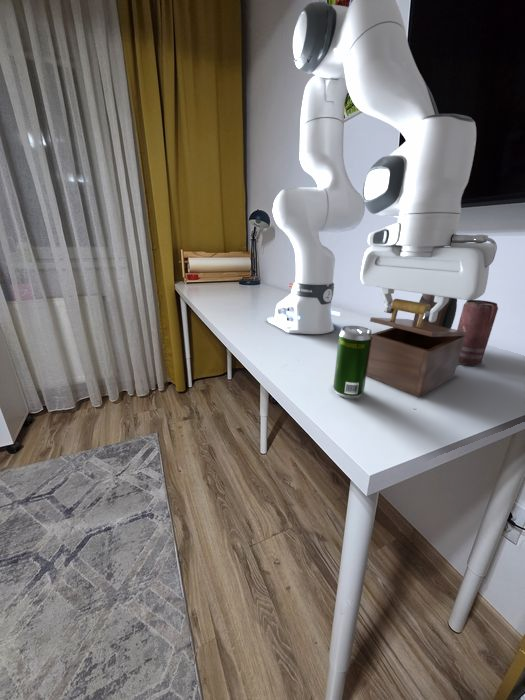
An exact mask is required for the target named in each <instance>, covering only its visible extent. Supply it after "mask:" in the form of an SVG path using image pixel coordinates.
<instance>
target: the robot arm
mask: <svg viewBox="0 0 525 700" xmlns="http://www.w3.org/2000/svg"><path fill="white" fill-rule="evenodd" d="M292 58H293V62H294V65H295V67H296V68H297V69H298V70H299V71H301V72H303V73H305V74H307V75H312V74H313V76H312V77H310V79H309V80H308V81H307V83H306V85H305V87H304V91H303V96H302V101H301V102H302V103H301V110H300V122H299V162H300V166H301V168H302V169H303V171H304V172H305V173H307V174H308V175H309V176H311V177H312V178H313V180H314V181H315V183H316V185H317V187H313V186H312V187H311V186H294V187H287V188H284V189H281V190H280V191H279V192H278V194H277V195H276V196H275V199H274V201H273V206H272V215H273V219H274V222H275V224H276V225H277V227H278V228H279V229H280V230H282V231H283V232H284V234H285V235H286V236H287V237H288V239H289V241H290V243H291V245H292V247H293V250H294V257H295V281H294V282H292V283H289V285H288V288H290V289H291V290H290V293H289V294H288V295H286V296H285V297H284V298H283V299H282V300H280V301H279V302H278V303H277V304H276V306H275V312H274V315H272V316H270V317H268V318H267V322H268V323H270V324H271V325H273V326H274V327H276V328H279V329H281V330H282V331H284V332H286V333H288V334H304V335H324V334H328V333H329V334H330V333H331V332H333V331H334V330H335V327H334V322H333V315H334V316H337V317H340V315H341V312H339V311H334V310H333V309H332V308H333V307H332V306H333V305H332V301H333V297H334V293H335V292H334V291H335V290H334V289H335V283H334V273H335V264H336V263H335V262H336V258H335V255H334V252H333V251H332V250H331V249H330V248H328V247H327V246H325V245H323V244H322V242H321V239H320V235H319V234H320V233H343V232H348V231H352V230H355V229H356V228H358V226H359V225H360V224H361V222H362V221H363V218H364V215H365V210H367V211H368V212H369V213H370V214H373V215H376V216H380V217H394V218H397V222H395V223H391V224H390V225H387V226H384V227H383V228H380V229H377V230H375V231H372V232H370V233H369V234H368V237H367V244H368V246H369V247H368V248H366V251H365V252H364V255H363V258H362V262H361V263H362V265H361V268H360V274H359V275H360V276H359V277H360V278H359V279H360V281H361V284H362V285H363V286H368V287H375V288H381V291H380V295H381V297H382V300H383V303H384V307H383V308H384V309H383V312H384V313H387V314H391V315H392V311H393V309H392V302H393V300H394V299H393V296H392V294H394V293H395V290H396V291H402V292H408V293H416V294H421V295H422V294H429V295H435V298H434V302H436V303H437V304H436V305H435V306H434V307H433V308H432V310H427V311H425V314H424V317H423V321H427V322H435V321H436V319H437V315H438V311H440V310H441V309H442V308H443V307H444V306H445V305H446V304H447V303H448V301H449V298H456V299H457V300H462V301H463V300H464V301H467V300H478V299H479V298H481V296H483V295H484V294H485V292H486V289H487V284H488V279H489V274H490V273H489V271H490V265H491V264H492V263H493V262H494V260H495V257H496V254H497V250H498V244H497V242H496V241H495V240H494V239H493V238H491V237H489V235H487V234H476V235H475V234H471V235H470V234H457V231H458V227H459V223H460V219H461V214H462V197H463V195H464V192H465V189H466V187H467V186H468V183H469V181H470V176H471V172H472V167H473V162H474V156H475V151H476V143H477V126H476V125H477V124H476V121H475V120H474V119H473V118H472V117H471V116H468V115H463V114H459V113H439V110H438V107H437V104H436V101H435V99H434V96H433V94H432V92H431V90H430V87H429V86H428V84H427V82H426V81H425V80H424V78H423V76H422V74H421V73H420V70H419V69H418V66H417V64H416V61H415V59H414V56H413V54H412V51H411V49H410V46H409V41H408V38H407V32H406V28H405V23H404V20H403V15H402V13H401V10H400V7H399V4H398V3H397V0H351V2H350V4H349V5H348V6H345V5H339V4H331V3H328V2H326V1H313V2H310V3H307V4H306V6H305V7H304V8H303V9H302V10H301V11H300V13H299V15H298V18H297V20H296V22H295V27H294V32H293V36H292ZM348 94H349V97H350V99H351V101H352V103H353V105H354V106H355V107H356V108H357V109H358V110H359V111H360V112H362V113H364V114H365V115H368V116H369V117H373V118H375V119H378V120H380V121H382V122H384V123H386V124H388V125H390V126H392V127H393V128H394V129H396V130H397V131H398V132H399V133H400V134H401V135H402V136H403V138H404V139H405V141H404V142H403V143H402V144H401V145H400V146H398V148H396V149H395V150H393V151H392V152H391V153H389V154H388V155H386V156H382V157H381V158H379V159H378V160H376V161H375V162H374V163H373V165H372V166H371V167H370V168H369V170H368V171H367V173H366V175H365V177H364V181H363V184H362V185H363V188H362V194H361V193H359V192H358V190H357V189H356V188H355V187H354V186H353V184H352V182H351V180H350V178H349V175H348V173H347V170H346V165H345V161H344V129H345V103H346V98H347V96H348Z"/></svg>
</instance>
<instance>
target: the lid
mask: <svg viewBox="0 0 525 700" xmlns="http://www.w3.org/2000/svg"><path fill="white" fill-rule="evenodd" d="M392 309H393V311H392V314H391V315H390V317H373V316H372V317H370V319H369V322H371V323H375V324H379V325H383V326H387V327H390V328H393V327H394V328H398V329H402V330H406V331H410V332H414V333H418V334H422V335H426V336H430V337H443V336H465V335H466V332H464V331H460V330H457V329H454V328H452V327H451V328H446V327H441V326H437V325H432V324H428V323H423V322H424V321H423V317H424V314H425V311H427V310H430V305H429V304H425V303H419V301H414V300H413V301H412V300H406V299H401V298H394V299H393V302H392ZM398 311H400V312H404V313H410V314H414V315H415V314H419V315H420V316H419V320H418V321H414V319H410V318H397V316H398Z"/></svg>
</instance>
